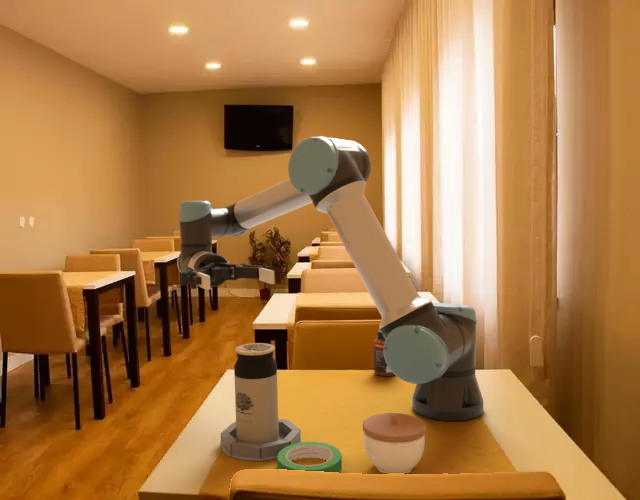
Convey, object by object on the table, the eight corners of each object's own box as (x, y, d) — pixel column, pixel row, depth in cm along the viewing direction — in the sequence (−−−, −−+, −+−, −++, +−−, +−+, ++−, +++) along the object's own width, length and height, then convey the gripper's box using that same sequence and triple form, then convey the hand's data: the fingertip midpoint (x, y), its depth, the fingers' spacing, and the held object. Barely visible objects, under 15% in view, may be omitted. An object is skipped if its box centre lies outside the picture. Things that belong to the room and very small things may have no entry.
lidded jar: (417, 486, 98) (418, 430, 97) (354, 476, 102) (354, 421, 101) (431, 459, 108) (431, 407, 107) (373, 450, 112) (373, 400, 111)
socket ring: (311, 432, 121) (310, 421, 120) (284, 465, 106) (283, 452, 106) (241, 425, 125) (241, 413, 125) (206, 455, 111) (206, 442, 111)
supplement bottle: (396, 377, 156) (396, 333, 155) (372, 376, 157) (372, 333, 156) (397, 370, 161) (397, 328, 160) (375, 369, 163) (375, 327, 162)
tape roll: (322, 490, 98) (321, 474, 98) (265, 475, 103) (264, 460, 103) (352, 463, 108) (352, 448, 108) (298, 451, 113) (298, 437, 113)
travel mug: (263, 429, 122) (260, 340, 120) (287, 441, 116) (284, 347, 114) (228, 439, 117) (225, 347, 115) (251, 453, 111) (248, 355, 109)
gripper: (259, 280, 147) (298, 293, 128) (155, 289, 136) (180, 304, 117) (258, 249, 146) (297, 257, 128) (153, 256, 135) (178, 265, 116)
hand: (241, 280), depth 122 cm, fingers open, 13 cm apart
